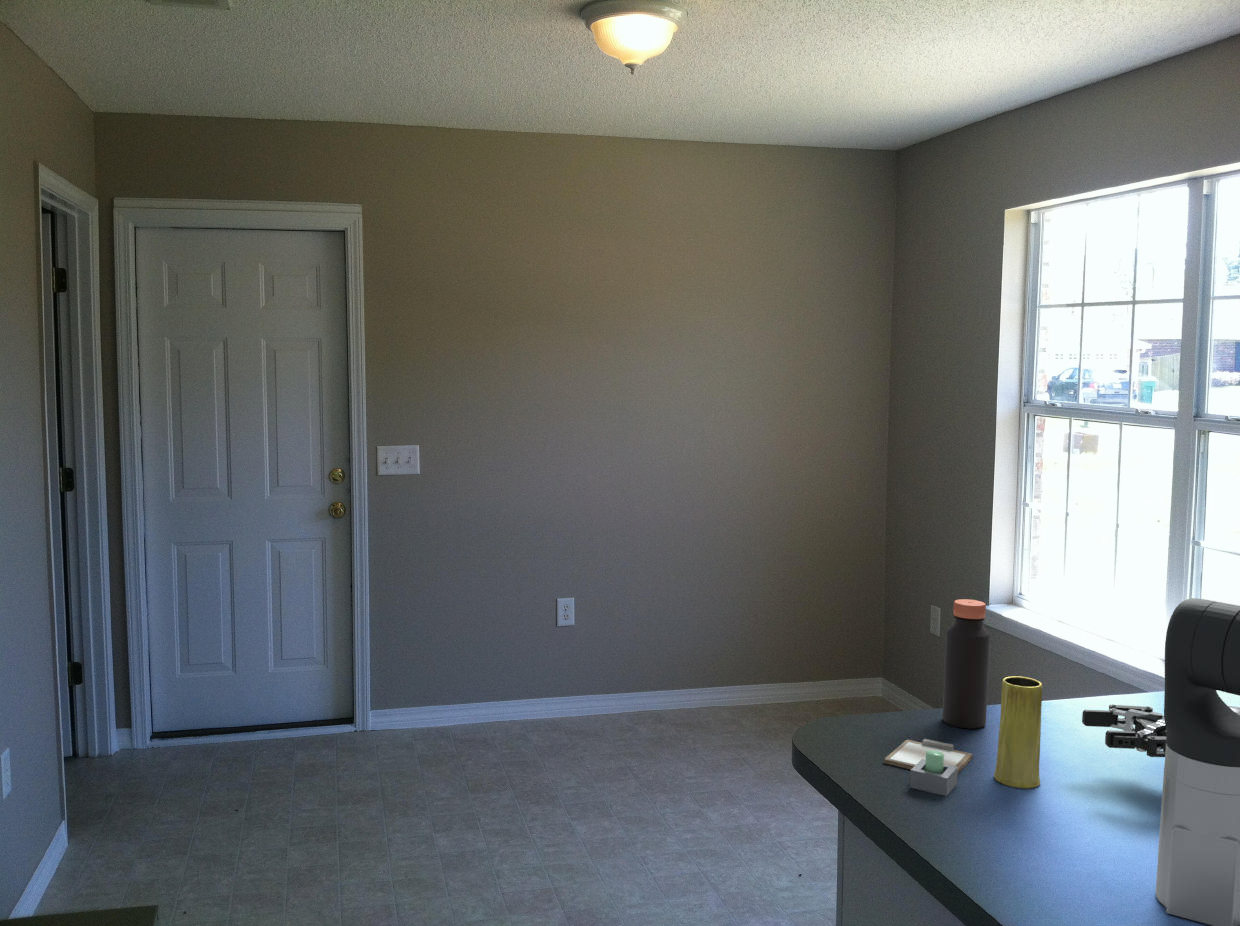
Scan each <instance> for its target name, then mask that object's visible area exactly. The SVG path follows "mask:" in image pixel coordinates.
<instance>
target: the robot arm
mask: <svg viewBox="0 0 1240 926" xmlns="http://www.w3.org/2000/svg"><path fill="white" fill-rule="evenodd" d="M1167 624H1168V625H1167V628H1166V635H1165V641H1164V642H1165V643H1164V695H1163V696H1164V702H1163V703H1164V704H1163V714H1162V713H1160V712H1155V711H1154V709H1153V707H1151V706H1140V705H1139V706H1138V705H1126V704H1125V705H1123V704H1109V705H1108V710H1107V709H1106V710H1102V709H1084V710H1082V713H1081V723H1082V724H1083V725H1084V726H1085V727H1096V728H1097V727H1099V728H1113V729H1117V730H1112V729H1111V730H1110V729H1109V730H1107V731H1105V736H1104V737H1105V738H1104V744H1105V746H1107V747H1108V748H1110V749H1131V750H1136V751H1138V752H1140V753H1146V756H1148V757H1150V758H1164V766H1163V776H1162V777H1163V779H1162V780H1163V781H1162V791H1161V792H1162V793H1161V795H1162V796H1161V808H1160V818H1159V819H1160V822H1159V834H1158V835H1159V836H1158V849H1157V865H1156V866H1157V867H1156V880H1155V881H1156V882H1155V896H1156V899H1157V900H1158V901H1159V903H1161V904H1162V905H1163V906H1164V907H1165V913H1167V914H1169V915H1172V916H1176V917H1180V918H1184V919H1187V920H1191V921H1194V922H1199V923H1202V924H1205V925H1210V926H1240V707H1238V706H1233V705H1227V704H1226V703H1225V701H1224V700H1223V699H1222V698H1221V697H1220V696H1219V693H1218V692H1217V691H1219V692H1222V693H1226V694H1231V695H1235V696H1240V605H1236V604H1232V603H1226V602H1222V601H1221V602H1220V601H1216V600H1211V599H1204V598H1186V599H1184V600H1183V601H1181V602H1180V603H1179V604H1178V605H1177V606H1176V607H1175V608H1174V609H1173V612H1172V614H1171V616H1170V619H1169V622H1168V623H1167ZM1119 716H1120V717H1119ZM1122 717H1123V718H1122Z"/></svg>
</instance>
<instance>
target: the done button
mask: <svg viewBox="0 0 1240 926" xmlns="http://www.w3.org/2000/svg"><path fill="white" fill-rule="evenodd" d="M943 768H944V754H943V753H942V752H939V751H933V750H931V751H927V752H926V763H925V771H930V772H934V773H938V774H943Z"/></svg>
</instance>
